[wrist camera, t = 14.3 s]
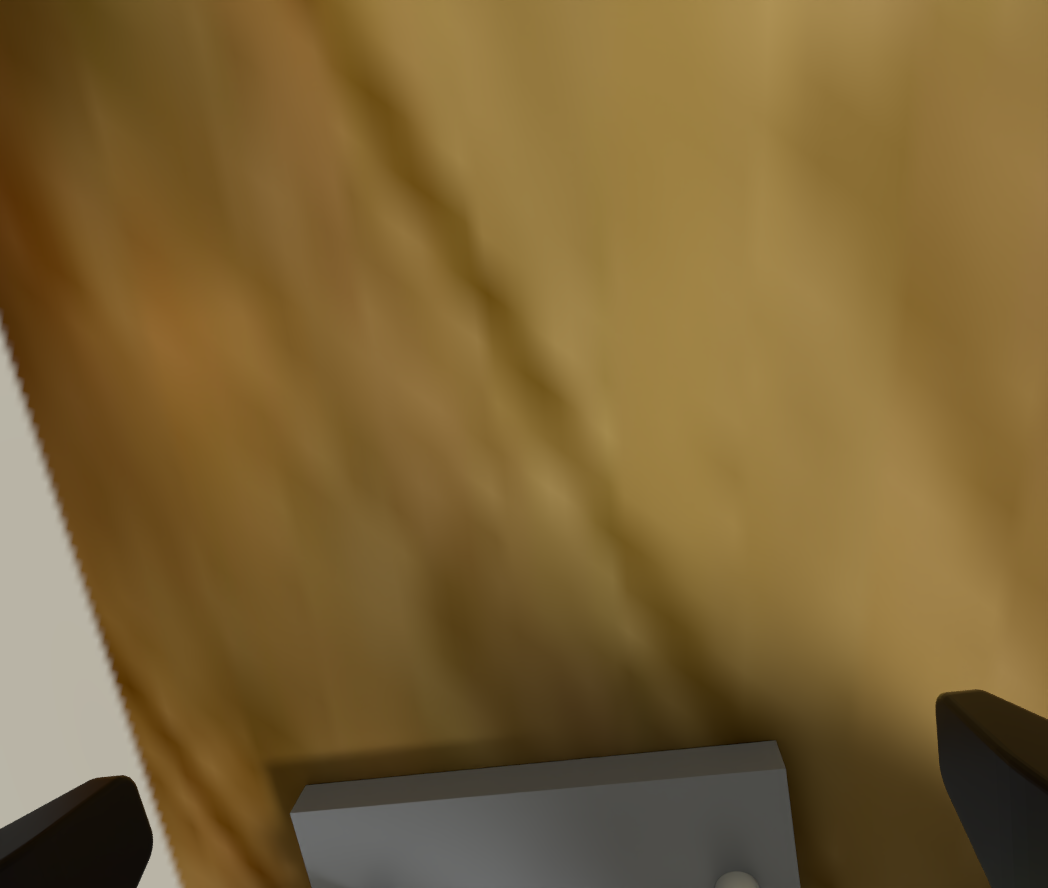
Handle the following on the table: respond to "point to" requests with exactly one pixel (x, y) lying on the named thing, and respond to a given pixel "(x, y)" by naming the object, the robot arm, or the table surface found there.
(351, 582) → the table surface
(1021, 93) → the table surface
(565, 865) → the standoff plate
